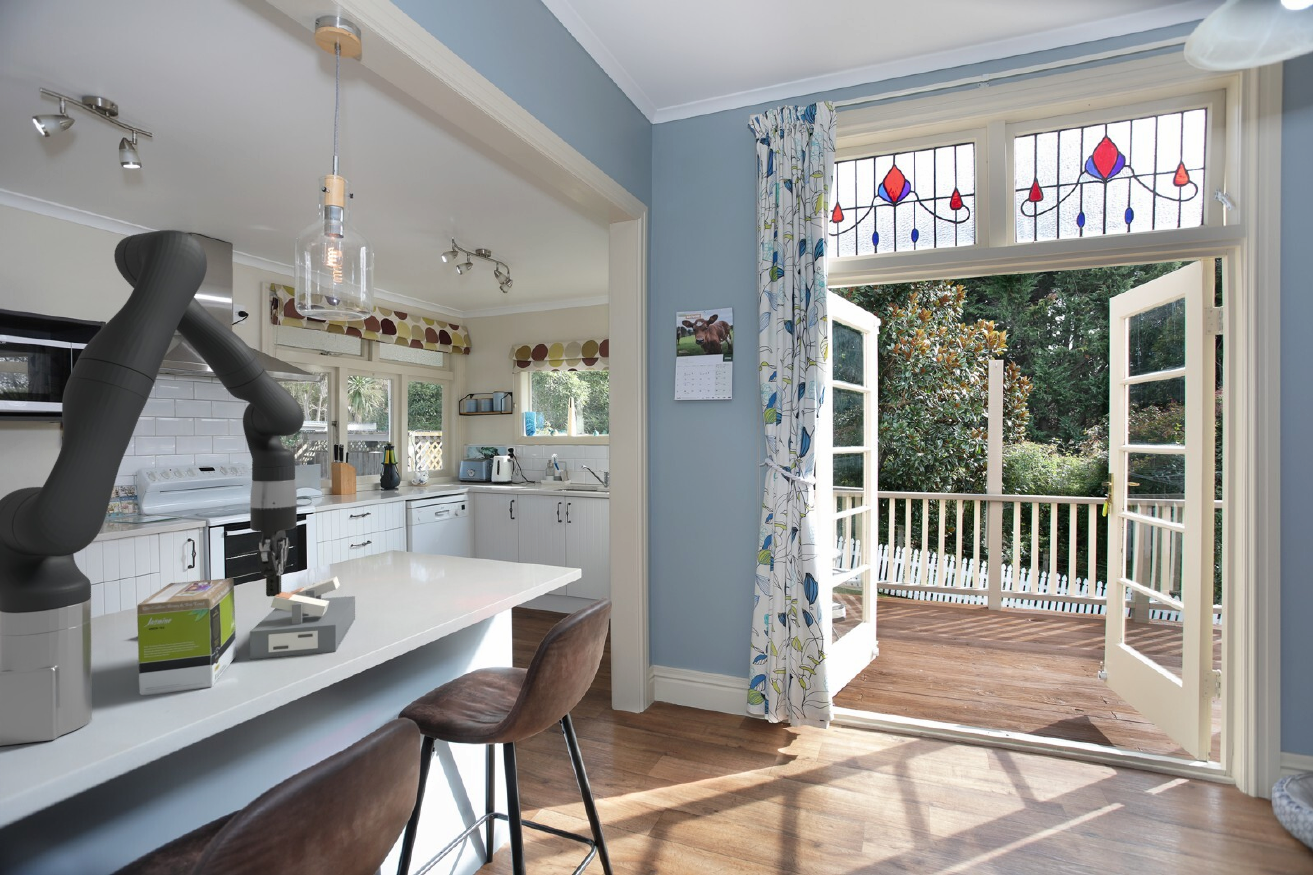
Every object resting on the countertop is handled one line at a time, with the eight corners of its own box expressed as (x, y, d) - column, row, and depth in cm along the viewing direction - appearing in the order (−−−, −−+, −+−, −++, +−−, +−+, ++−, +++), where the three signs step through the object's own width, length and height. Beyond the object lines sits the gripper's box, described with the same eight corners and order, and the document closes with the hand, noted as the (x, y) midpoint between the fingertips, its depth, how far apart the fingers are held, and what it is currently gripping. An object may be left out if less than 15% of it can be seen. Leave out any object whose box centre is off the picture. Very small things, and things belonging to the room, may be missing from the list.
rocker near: (321, 617, 122) (325, 606, 122) (270, 607, 119) (273, 596, 119) (326, 610, 126) (330, 600, 126) (277, 601, 124) (280, 590, 124)
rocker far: (336, 589, 132) (332, 579, 132) (289, 606, 130) (285, 596, 130) (340, 584, 137) (336, 575, 136) (295, 600, 134) (291, 591, 134)
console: (335, 652, 119) (335, 605, 119) (249, 659, 115) (249, 611, 115) (355, 618, 140) (355, 578, 140) (283, 624, 136) (283, 583, 136)
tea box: (171, 664, 113) (170, 581, 113) (237, 657, 116) (237, 576, 116) (136, 697, 99) (135, 601, 99) (213, 688, 102) (212, 596, 102)
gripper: (286, 507, 116) (286, 603, 116) (304, 499, 129) (304, 585, 129) (239, 508, 114) (239, 606, 114) (262, 500, 127) (262, 588, 127)
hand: (273, 595), depth 121 cm, fingers closed
